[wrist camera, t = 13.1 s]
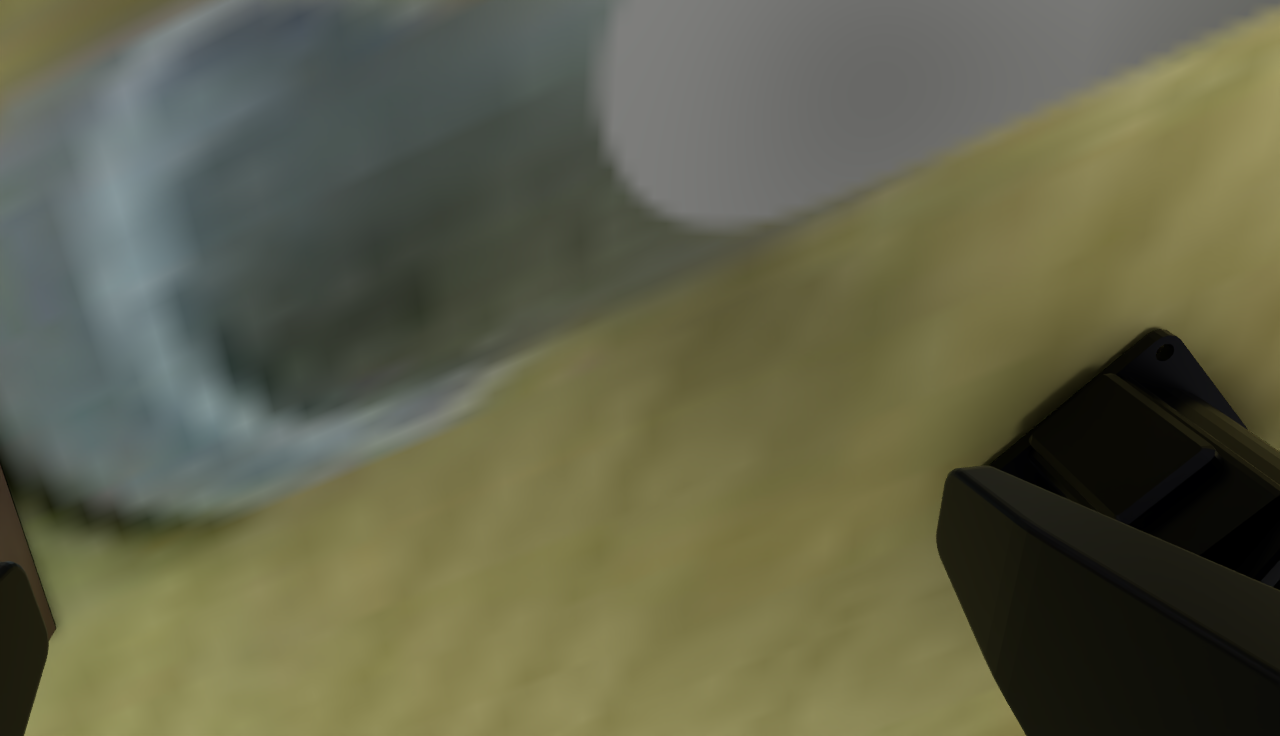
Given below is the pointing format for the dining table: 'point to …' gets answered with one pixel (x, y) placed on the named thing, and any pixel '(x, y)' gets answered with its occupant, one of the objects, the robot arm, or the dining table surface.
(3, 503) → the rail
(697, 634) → the dining table surface
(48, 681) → the dining table surface
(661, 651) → the dining table surface
